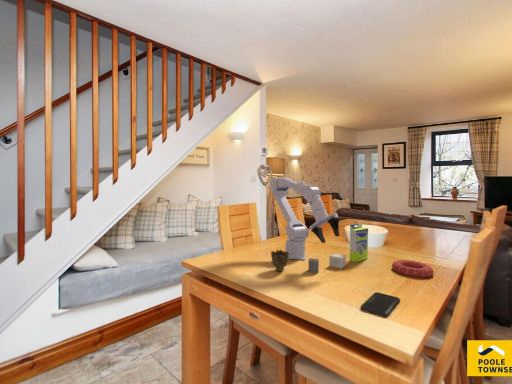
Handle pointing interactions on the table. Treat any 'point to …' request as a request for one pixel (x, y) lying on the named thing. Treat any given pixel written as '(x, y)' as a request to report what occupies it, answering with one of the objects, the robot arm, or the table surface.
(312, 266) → the charcoal block
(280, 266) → the cup
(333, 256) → the small box
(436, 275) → the table surface
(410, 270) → the torus
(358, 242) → the box
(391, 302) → the phone
